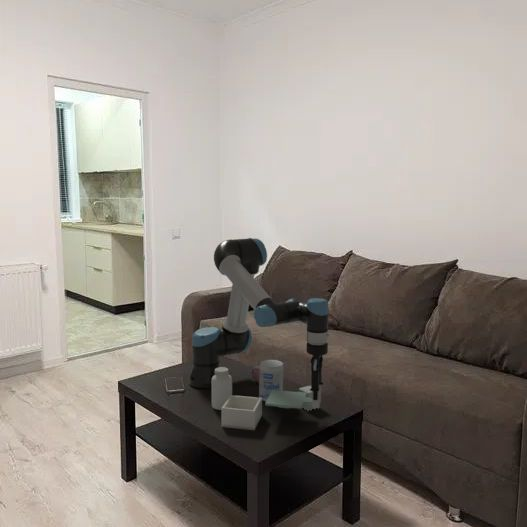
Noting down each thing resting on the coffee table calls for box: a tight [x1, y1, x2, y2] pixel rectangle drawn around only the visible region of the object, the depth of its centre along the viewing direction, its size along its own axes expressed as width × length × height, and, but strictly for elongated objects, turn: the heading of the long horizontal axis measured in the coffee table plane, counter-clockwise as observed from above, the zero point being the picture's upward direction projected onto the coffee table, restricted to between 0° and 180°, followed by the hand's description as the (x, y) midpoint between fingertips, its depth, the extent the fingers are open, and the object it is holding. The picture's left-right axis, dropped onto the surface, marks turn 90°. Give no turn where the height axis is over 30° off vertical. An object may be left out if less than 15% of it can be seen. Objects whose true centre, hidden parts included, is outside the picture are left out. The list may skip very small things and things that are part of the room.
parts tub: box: [220, 394, 263, 431], centre depth 187 cm, size 12×12×7 cm
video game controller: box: [251, 365, 260, 384], centre depth 229 cm, size 10×5×7 cm, turn 164°
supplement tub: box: [258, 359, 284, 402], centre depth 208 cm, size 10×10×15 cm
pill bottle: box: [211, 366, 233, 411], centre depth 200 cm, size 8×8×15 cm
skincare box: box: [298, 385, 321, 412], centre depth 200 cm, size 6×6×7 cm
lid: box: [264, 390, 312, 409], centre depth 188 cm, size 13×18×7 cm
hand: (316, 404), depth 187 cm, fingers closed on lid, 4 cm apart
